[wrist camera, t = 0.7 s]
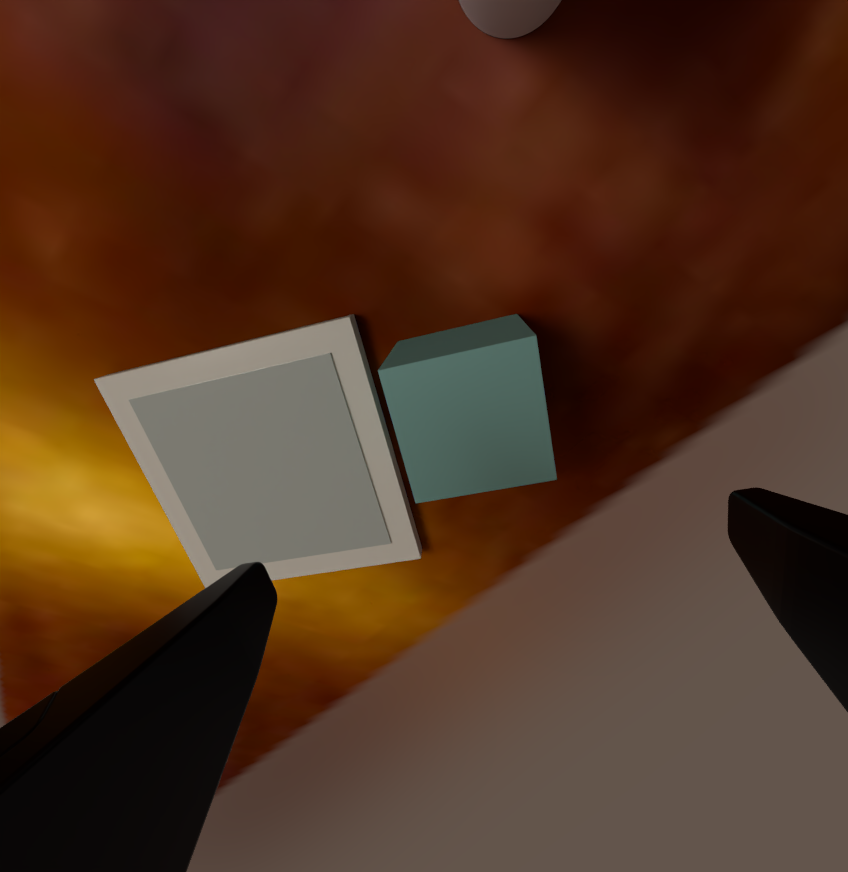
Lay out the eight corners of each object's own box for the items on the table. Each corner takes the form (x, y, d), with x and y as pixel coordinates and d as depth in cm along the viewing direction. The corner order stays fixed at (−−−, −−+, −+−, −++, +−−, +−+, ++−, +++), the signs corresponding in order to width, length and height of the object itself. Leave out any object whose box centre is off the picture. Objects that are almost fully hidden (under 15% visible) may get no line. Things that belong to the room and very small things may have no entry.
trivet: (353, 314, 18) (348, 317, 17) (422, 548, 22) (420, 559, 22) (107, 374, 20) (91, 380, 19) (214, 579, 24) (205, 591, 24)
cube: (516, 313, 18) (536, 335, 13) (534, 425, 19) (556, 479, 15) (398, 340, 18) (377, 370, 14) (425, 446, 20) (415, 503, 16)
